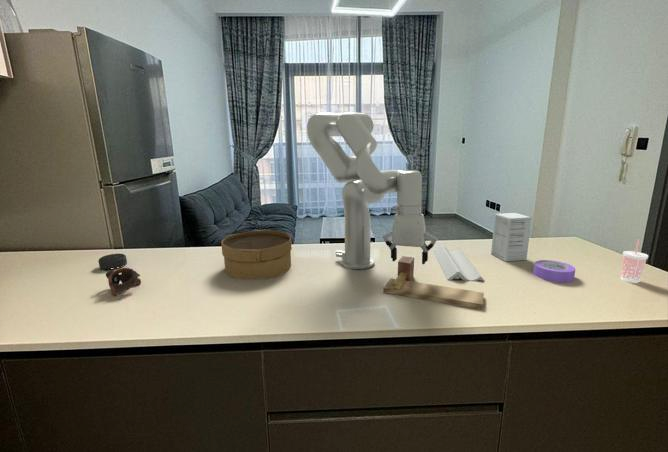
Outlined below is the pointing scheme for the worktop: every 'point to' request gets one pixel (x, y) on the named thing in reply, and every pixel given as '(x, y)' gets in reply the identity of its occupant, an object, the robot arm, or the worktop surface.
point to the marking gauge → (404, 271)
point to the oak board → (437, 293)
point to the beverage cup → (633, 265)
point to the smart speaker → (112, 261)
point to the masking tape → (554, 271)
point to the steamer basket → (257, 254)
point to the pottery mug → (122, 279)
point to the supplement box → (511, 236)
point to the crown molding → (455, 264)
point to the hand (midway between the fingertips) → (409, 261)
